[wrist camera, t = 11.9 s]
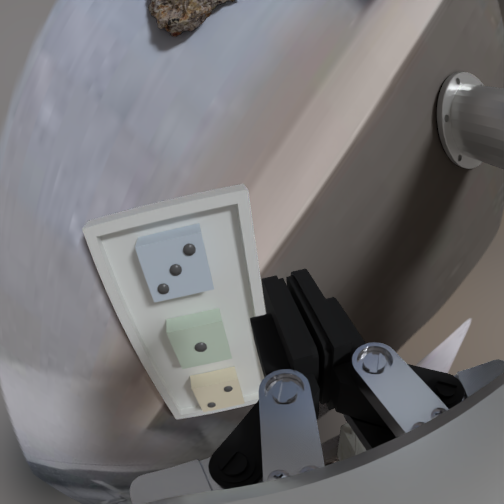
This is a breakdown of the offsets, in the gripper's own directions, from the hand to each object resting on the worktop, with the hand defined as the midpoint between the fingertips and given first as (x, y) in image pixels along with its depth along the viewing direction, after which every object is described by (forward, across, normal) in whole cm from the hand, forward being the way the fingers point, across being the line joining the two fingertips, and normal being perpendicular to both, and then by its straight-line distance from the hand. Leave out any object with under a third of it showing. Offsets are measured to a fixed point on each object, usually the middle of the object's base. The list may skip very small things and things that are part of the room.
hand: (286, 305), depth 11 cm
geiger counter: (+16, -14, +57) cm, 61 cm away
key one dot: (+15, +6, +13) cm, 21 cm away
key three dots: (+15, +6, +4) cm, 16 cm away
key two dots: (+14, +7, +22) cm, 27 cm away
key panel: (+15, +6, +13) cm, 21 cm away
